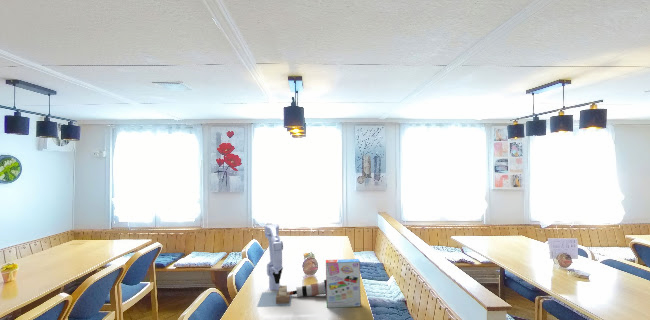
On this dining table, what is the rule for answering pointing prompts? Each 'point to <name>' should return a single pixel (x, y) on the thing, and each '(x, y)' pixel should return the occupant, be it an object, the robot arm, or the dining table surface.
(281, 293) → the maple cube
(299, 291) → the cable
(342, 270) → the game box
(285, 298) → the walnut base
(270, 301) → the mat
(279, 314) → the dining table surface
